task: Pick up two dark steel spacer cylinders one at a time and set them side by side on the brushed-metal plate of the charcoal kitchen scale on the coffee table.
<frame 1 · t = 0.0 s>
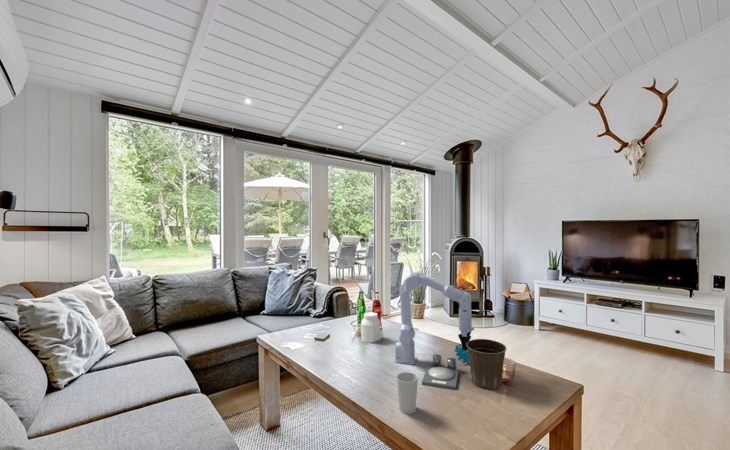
hand: (465, 346, 157), 10 cm above the table, fingers open, 7 cm apart
cup: (407, 409, 124), on the table
scale: (440, 378, 147), on the table
plant pot: (486, 383, 143), on the table
gear: (464, 361, 165), on the table
jar: (370, 339, 197), on the table
spacer b: (451, 370, 156), on the table
spacer a: (437, 366, 160), on the table
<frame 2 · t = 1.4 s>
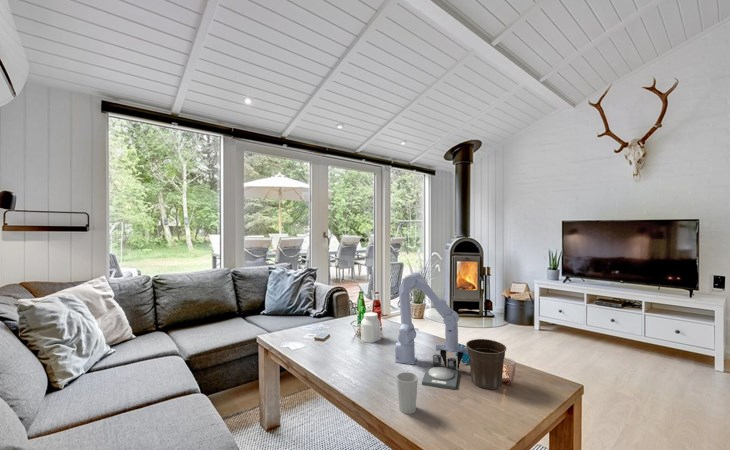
hand: (451, 367, 155), 1 cm above the table, fingers open, 5 cm apart
nothing on the table moved.
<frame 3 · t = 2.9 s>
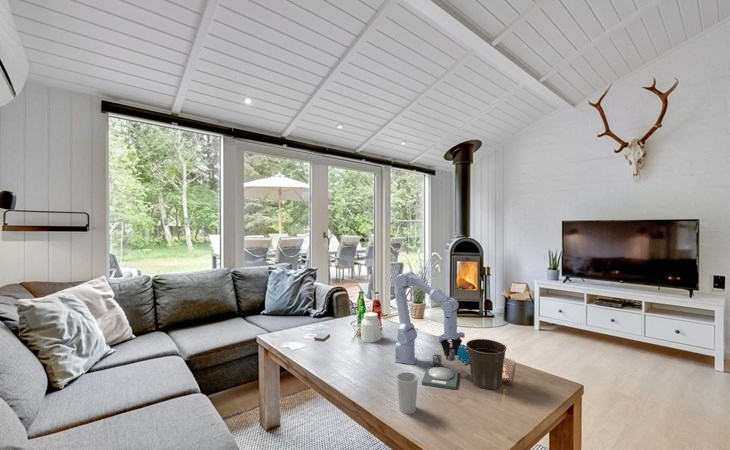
hand: (450, 355, 152), 8 cm above the table, fingers closed on spacer b, 4 cm apart
spacer b: (450, 358, 152), point 7 cm above the table, touching gripper
everything else where it was.
when the fingers open (5 cm above the table, at t = 4.3 s): spacer b stays where it is, resting on scale.
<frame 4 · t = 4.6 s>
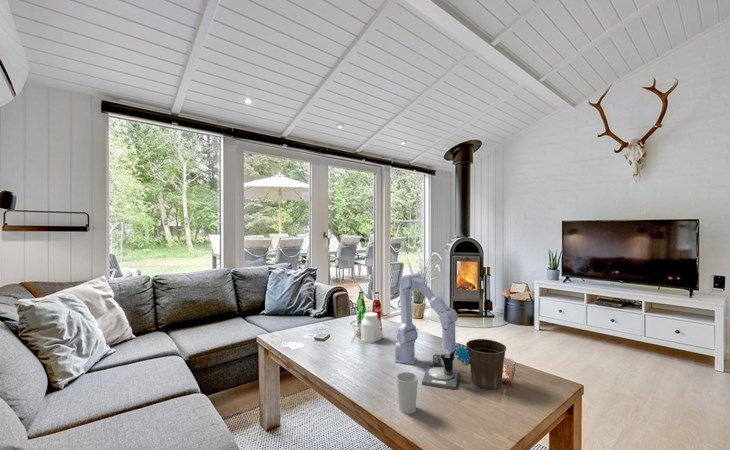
hand: (449, 367, 148), 5 cm above the table, fingers open, 7 cm apart
spacer b: (448, 373, 148), point 2 cm above the table, touching scale
everything else where it was.
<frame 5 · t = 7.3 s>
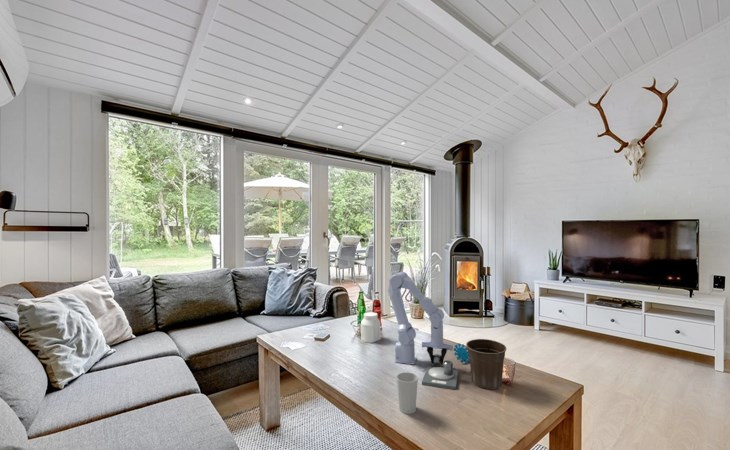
hand: (437, 363, 160), 1 cm above the table, fingers closed on spacer a, 4 cm apart
spacer a: (437, 366, 160), on the table, touching gripper
everything else where it was.
when the fingers open (5 cm above the table, at t = 9.9 s): spacer a stays where it is, resting on scale.
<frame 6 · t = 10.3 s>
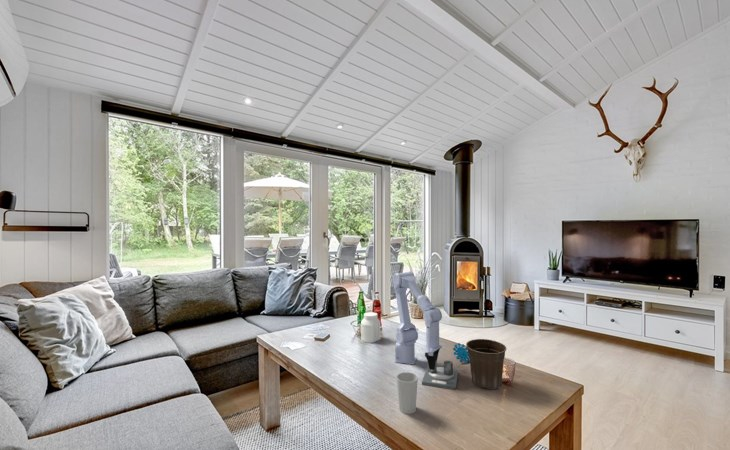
hand: (433, 365, 150), 5 cm above the table, fingers open, 7 cm apart
spacer a: (432, 371, 150), point 2 cm above the table, touching scale
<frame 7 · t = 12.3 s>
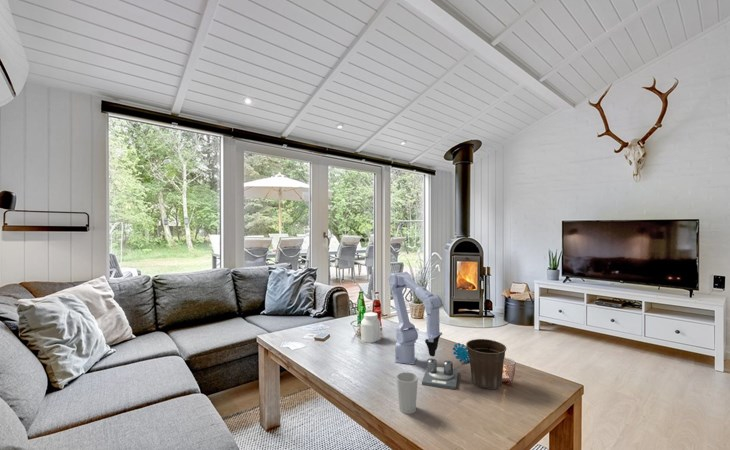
hand: (433, 352, 151), 10 cm above the table, fingers open, 7 cm apart
at the end: spacer b 0.3 cm from the target spot on the scale, point 2.0 cm above the scale's base; spacer a 0.4 cm from the target spot on the scale, point 2.0 cm above the scale's base; spacer a tilted 0° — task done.
